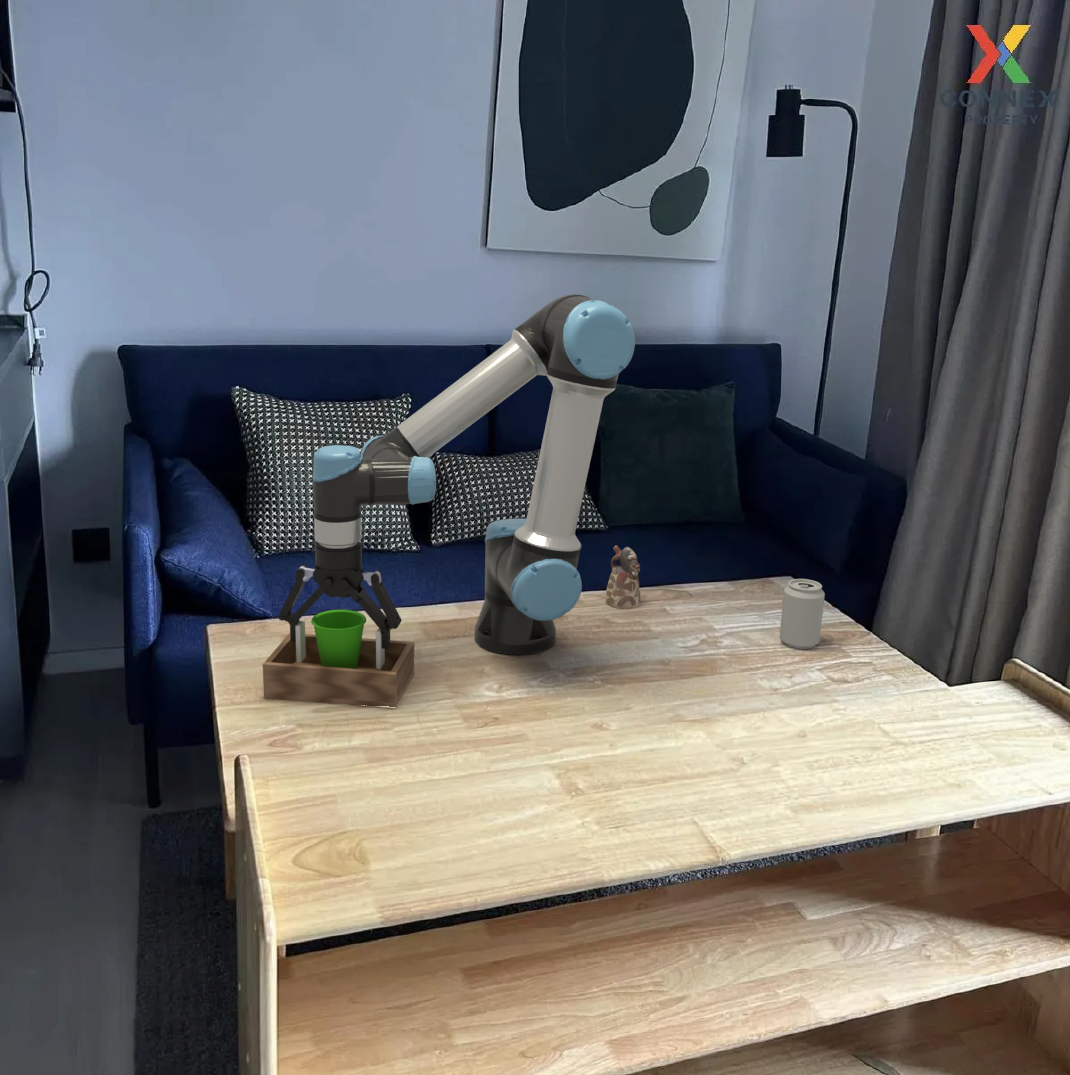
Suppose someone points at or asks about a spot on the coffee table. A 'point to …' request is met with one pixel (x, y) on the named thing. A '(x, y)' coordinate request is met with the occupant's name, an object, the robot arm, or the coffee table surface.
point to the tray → (339, 675)
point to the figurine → (624, 580)
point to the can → (802, 613)
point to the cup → (339, 637)
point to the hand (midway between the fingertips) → (340, 662)
